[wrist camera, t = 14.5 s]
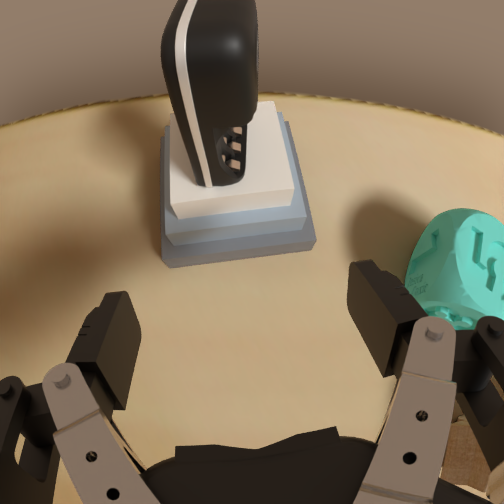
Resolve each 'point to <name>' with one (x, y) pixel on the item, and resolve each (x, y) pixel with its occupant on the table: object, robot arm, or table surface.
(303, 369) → the table surface
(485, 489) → the toy train
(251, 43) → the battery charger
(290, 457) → the robot arm
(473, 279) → the decorative dice
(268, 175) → the block tower
